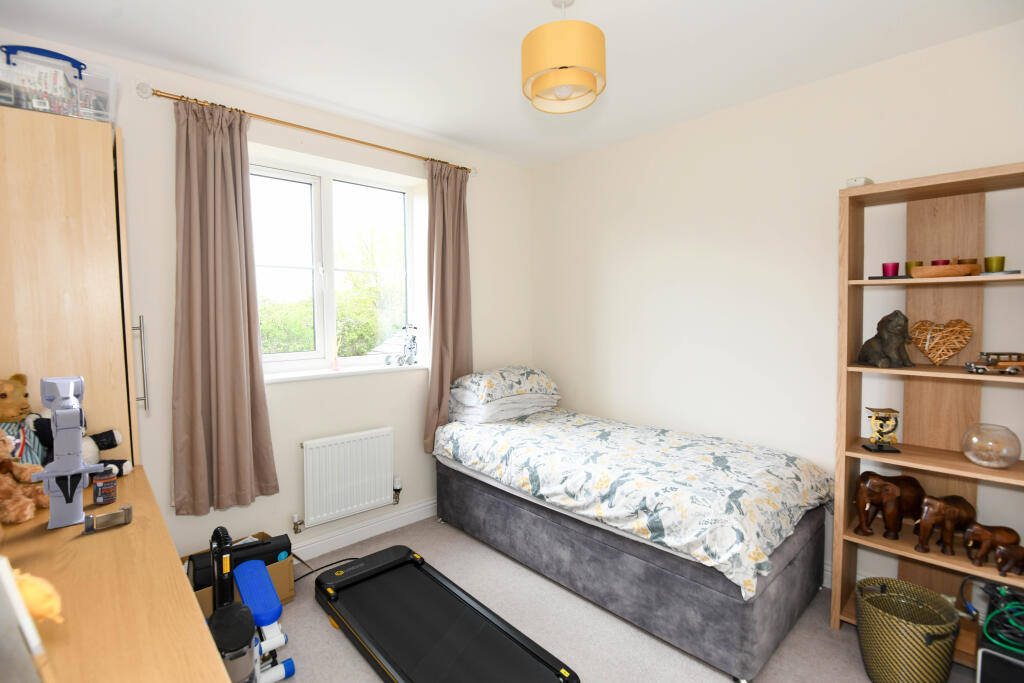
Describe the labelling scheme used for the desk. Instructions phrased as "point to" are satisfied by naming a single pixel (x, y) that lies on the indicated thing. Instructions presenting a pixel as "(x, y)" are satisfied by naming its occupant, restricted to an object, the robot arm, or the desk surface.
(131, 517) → the white-faced wooden block
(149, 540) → the desk surface
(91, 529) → the pivot post
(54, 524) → the robot arm
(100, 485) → the supplement bottle
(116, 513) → the light wooden bar
